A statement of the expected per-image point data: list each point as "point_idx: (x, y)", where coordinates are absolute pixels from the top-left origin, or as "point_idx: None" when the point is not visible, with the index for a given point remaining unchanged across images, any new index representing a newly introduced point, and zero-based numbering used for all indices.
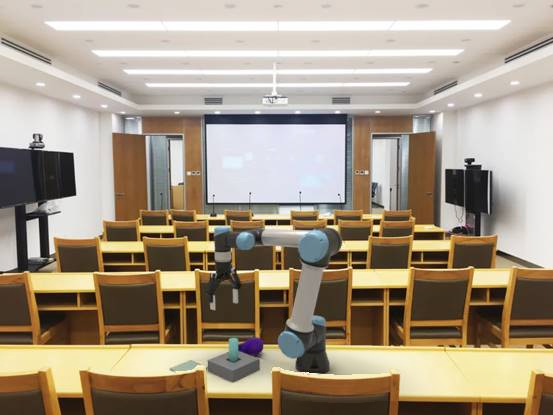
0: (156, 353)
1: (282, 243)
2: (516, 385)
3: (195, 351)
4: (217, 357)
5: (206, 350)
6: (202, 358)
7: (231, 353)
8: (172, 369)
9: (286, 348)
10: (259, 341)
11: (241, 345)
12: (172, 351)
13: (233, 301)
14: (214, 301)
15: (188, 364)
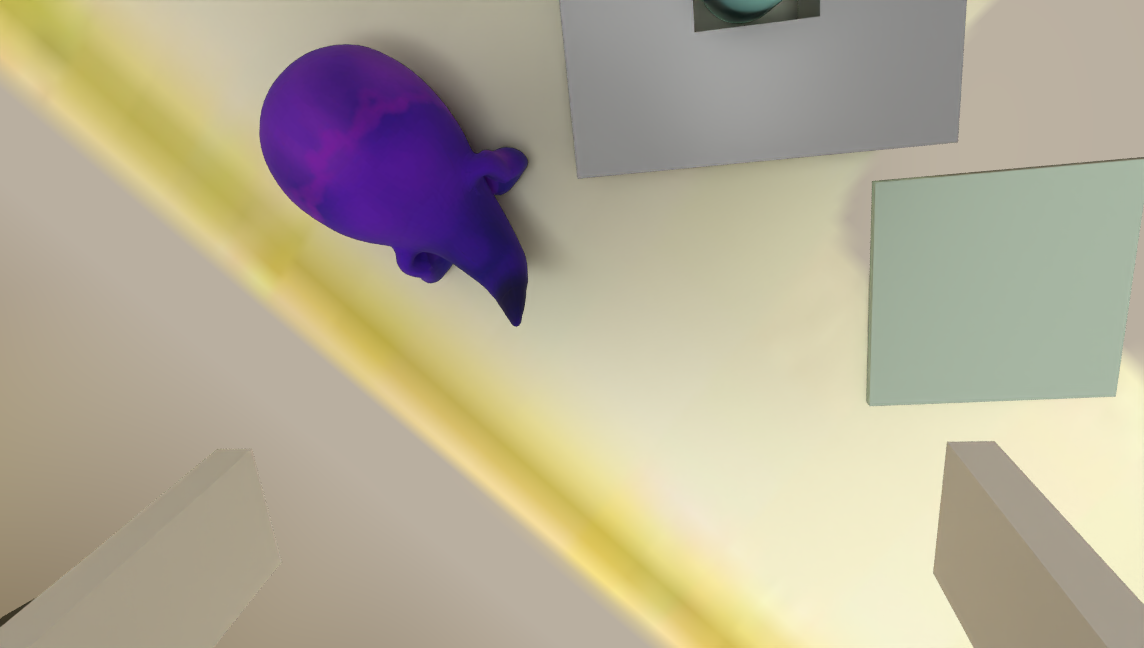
0: None
1: None
2: None
3: (715, 524)
4: (837, 129)
5: (640, 481)
6: (765, 383)
7: None
8: (1117, 360)
9: None
10: (309, 71)
11: (465, 213)
12: (840, 638)
13: (263, 568)
14: (1111, 604)
15: (952, 349)
